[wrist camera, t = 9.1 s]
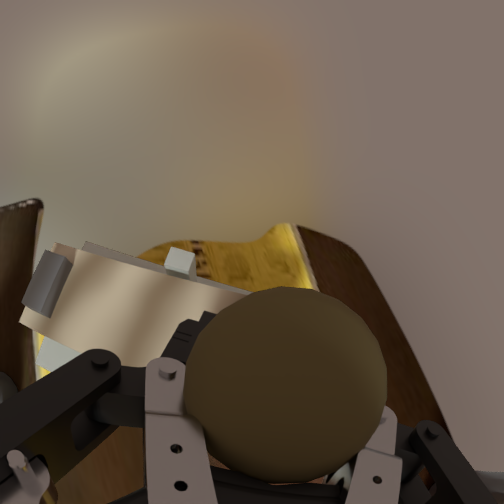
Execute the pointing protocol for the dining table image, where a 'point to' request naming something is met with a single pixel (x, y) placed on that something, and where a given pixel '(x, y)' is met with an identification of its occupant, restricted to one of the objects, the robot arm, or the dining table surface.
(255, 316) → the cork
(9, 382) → the candle holder
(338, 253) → the dining table surface
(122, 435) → the dining table surface
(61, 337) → the beam
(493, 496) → the robot arm
